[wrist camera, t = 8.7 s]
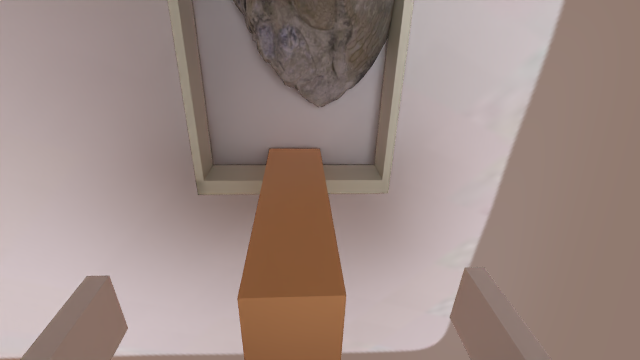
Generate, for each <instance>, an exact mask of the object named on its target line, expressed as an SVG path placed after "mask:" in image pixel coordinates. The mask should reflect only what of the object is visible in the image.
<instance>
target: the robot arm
mask: <svg viewBox="0 0 640 360" xmlns="http://www.w3.org/2000/svg"><path fill="white" fill-rule="evenodd" d="M450 319H451V321H452V323H453V325H454V327H455V329H456V331H457V333H458V335H459V337H460V339H461V341H462V342H463V345H464V347H465V349H466V351H467V353H468V355H469V357H470V359H471V360H552V359H551V358H550V356H549V355H548V354H547V352H546V351H545V350H544V348H543V347H542V345H541V344H540V343H539V341H538V340H537V339H536V337H535V336H534V335H533V333H532V332H531V330H530V329H529V328H528V326H527V325H526V324H525V322H524V321H523V320H522V318H521V317H520V316H519V314H518V313H517V311H516V310H515V309H514V307H513V306H512V305H511V303H510V302H509V300H508V299H507V298H506V296H505V295H504V294H503V292H502V291H501V290H500V288H499V287H498V286H497V284H496V283H495V281H494V280H493V279H492V277H491V276H490V275H489V273H488V272H487V271H486V269H485V268H484V267H467V268H465V269H464V272H463V275H462V279H461V282H460V285H459V289H458V292H457V295H456V298H455V302H454V305H453V308H452V312H451V315H450ZM127 329H128V327H127V324H126V321H125V318H124V316H123V313H122V310H121V307H120V304H119V302H118V299H117V296H116V293H115V290H114V287H113V285H112V282H111V279H110V276H87V277H86V278H85V279H84V280H83V282H82V283H81V284H80V285H79V287H78V288H77V289H76V290H75V292H74V293H73V294H72V295H71V297H70V298H69V299H68V300H67V302H66V303H65V304H64V305H63V307H62V308H61V309H60V310H59V312H58V313H57V314H56V315H55V317H54V318H53V319H52V320H51V322H50V323H49V324H48V325H47V327H46V328H45V329H44V330H43V332H42V333H41V334H40V335H39V337H38V338H37V339H36V340H35V342H34V343H33V344H32V345H31V347H30V348H29V349H28V350H27V352H26V353H25V354H24V355H23V357H22V358H21V359H20V360H111V359H112V357H113V355H114V353H115V352H116V350H117V348H118V346H119V344H120V342H121V340H122V338H123V337H124V335H125V333H126V331H127Z"/></svg>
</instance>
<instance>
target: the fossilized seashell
mask: <svg viewBox="0 0 640 360" xmlns="http://www.w3.org/2000/svg"><path fill="white" fill-rule="evenodd" d="M234 2H235V4H236V6H237V7H238V8H239V10H240V11H241V12H242V13H243V14H244V15H245V21H246V24H247V27H248V30H249V31H250V33H252V34H253V41H256V42H257V48H258V50H259V53H260V55H261V56H262V58H263V59H264V61H265V62H268V63H271V65H272V66H273V68H274V69H275V70H276V72H277V73H278V75H279V76H280V77H281V78H282V79H283V81H284V84H285V85H287V86H289V87H295V88H296V89H297V90H299V92H300V93H301V95H302V96H303V97H304V98H306V99H307V100H308V101H310V102H311V103H313V104H315V105H316V106H317V107H319V106H320V107H323V106H325V105H327V104H329V103H330V102H332V101H334V100H337V99H338V98H340V97H341V96H342V95H343V94H344V93H345V91H346V90H347V89H350V88H352V87H353V86H355V85H356V84H357V83H358V82H359V81H360V80H361V79H362V78H363V77H364V75H365V74H366V73H367V71H368V70H369V69H370V67H371V66H372V65H373V63H374V61H375V60H376V58H377V56H378V54H379V52H380V50H381V49H382V47H383V45H384V43H385V42H386V39H387V37H388V34H389V29H390V25H391V20H392V14H393V9H394V3H395V0H234Z"/></svg>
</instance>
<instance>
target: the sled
mask: <svg viewBox="0 0 640 360" xmlns="http://www.w3.org/2000/svg"><path fill="white" fill-rule="evenodd" d="M167 1H168V8H169V14H170V20H171V27H172V33H173V39H174V46H175V52H176V58H177V65H178V71H179V78H180V84H181V90H182V97H183V103H184V109H185V116H186V122H187V128H188V135H189V141H190V147H191V154H192V160H193V166H194V173H195V179H196V185H197V192H198V195H238V194H260V196H259V200H258V205H257V210H256V214H255V219H254V224H253V228H252V233H251V238H250V242H249V247H248V252H247V256H246V261H245V266H244V270H243V275H242V280H241V284H240V289H239V294H238V298H237V299H238V308H239V316H240V325H241V334H242V342H243V351H244V359H245V360H341V352H342V340H343V328H344V316H345V304H346V292H345V286H344V280H343V275H342V269H341V264H340V258H339V253H338V247H337V241H336V236H335V230H334V225H333V219H332V214H331V208H330V202H329V197H328V194H376V193H388V190H389V182H390V175H391V168H392V160H393V153H394V145H395V138H396V130H397V123H398V115H399V108H400V100H401V93H402V86H403V78H404V71H405V63H406V56H407V48H408V41H409V33H410V26H411V18H412V11H413V4H414V0H395V3H394V9H393V14H392V20H391V25H390V29H389V34H388V43H387V52H386V61H385V70H384V80H383V89H382V98H381V107H380V117H379V126H378V135H377V144H376V153H375V163H374V165H323V163H322V158H321V152H320V149H269V154H268V158H267V163H266V165H213V161H212V154H211V146H210V138H209V130H208V122H207V115H206V107H205V99H204V91H203V84H202V76H201V68H200V60H199V52H198V45H197V37H196V29H195V21H194V14H193V6H192V0H167Z"/></svg>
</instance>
